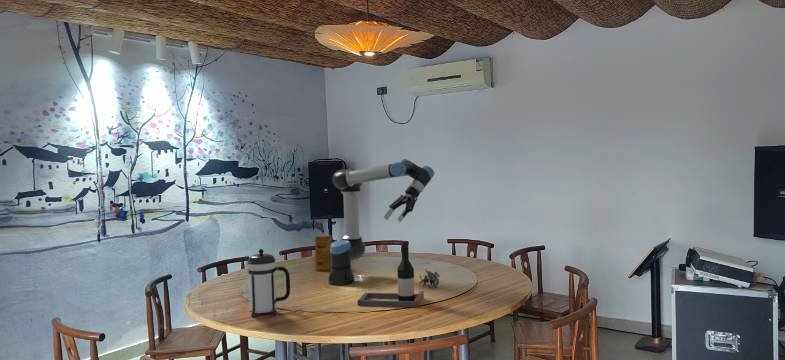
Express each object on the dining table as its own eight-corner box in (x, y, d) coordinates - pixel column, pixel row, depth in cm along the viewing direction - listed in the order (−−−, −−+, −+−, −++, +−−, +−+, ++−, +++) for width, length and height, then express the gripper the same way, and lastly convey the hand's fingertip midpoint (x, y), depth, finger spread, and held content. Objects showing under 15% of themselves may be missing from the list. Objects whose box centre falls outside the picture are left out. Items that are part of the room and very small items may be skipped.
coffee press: (264, 319, 236) (262, 252, 234) (239, 315, 244) (237, 250, 243) (291, 310, 250) (289, 246, 249) (267, 305, 259) (265, 244, 258)
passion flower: (436, 297, 286) (440, 283, 278) (417, 294, 286) (420, 279, 279) (438, 282, 294) (441, 267, 287) (418, 278, 295) (421, 264, 288)
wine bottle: (417, 300, 260) (415, 240, 259) (412, 305, 252) (410, 242, 251) (400, 299, 263) (399, 239, 262) (395, 304, 255) (393, 242, 254)
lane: (357, 305, 255) (357, 297, 254) (365, 297, 269) (365, 289, 269) (419, 307, 249) (419, 298, 249) (423, 298, 264) (423, 290, 263)
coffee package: (315, 268, 347) (314, 234, 346) (334, 267, 347) (333, 234, 346) (313, 271, 337) (312, 237, 336) (332, 270, 337) (331, 236, 336)
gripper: (431, 195, 281) (409, 226, 274) (406, 193, 303) (384, 222, 295) (423, 186, 278) (400, 216, 271) (398, 184, 300) (375, 213, 292)
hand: (391, 219), depth 283 cm, fingers open, 13 cm apart
